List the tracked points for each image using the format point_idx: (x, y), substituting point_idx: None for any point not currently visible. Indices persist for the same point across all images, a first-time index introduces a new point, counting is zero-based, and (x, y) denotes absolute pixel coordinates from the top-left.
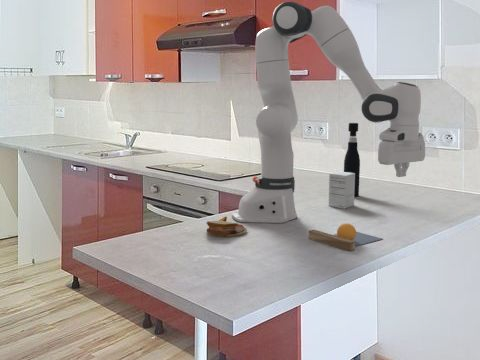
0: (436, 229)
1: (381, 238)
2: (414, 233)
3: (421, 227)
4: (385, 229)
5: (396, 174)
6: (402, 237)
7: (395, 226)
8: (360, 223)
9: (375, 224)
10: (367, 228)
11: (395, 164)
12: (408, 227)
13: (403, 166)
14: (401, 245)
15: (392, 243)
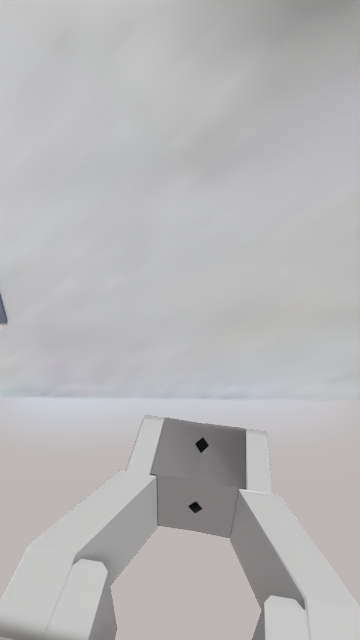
0: (285, 383)
1: (3, 318)
2: (164, 355)
3: (272, 333)
4: (118, 250)
5: (141, 432)
6: (85, 351)
7: (199, 250)
8: (100, 78)
9: (152, 156)
10: (60, 182)
11: (13, 602)
12: (229, 298)
13: (281, 586)
14: (17, 386)
15: (6, 361)
